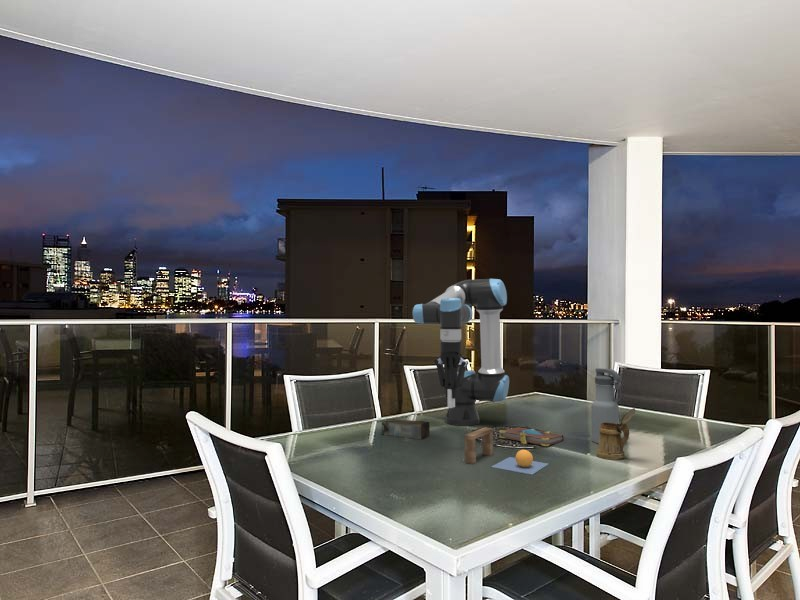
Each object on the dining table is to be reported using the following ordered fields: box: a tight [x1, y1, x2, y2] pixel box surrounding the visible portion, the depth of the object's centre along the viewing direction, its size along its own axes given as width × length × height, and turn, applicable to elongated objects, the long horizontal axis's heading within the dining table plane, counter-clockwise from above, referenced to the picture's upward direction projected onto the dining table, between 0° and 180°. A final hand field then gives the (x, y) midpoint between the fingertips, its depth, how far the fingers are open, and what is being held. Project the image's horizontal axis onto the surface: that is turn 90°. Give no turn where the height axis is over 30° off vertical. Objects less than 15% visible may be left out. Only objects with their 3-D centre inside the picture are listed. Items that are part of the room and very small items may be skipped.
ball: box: [515, 449, 534, 467], centre depth 174 cm, size 6×6×6 cm
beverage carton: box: [381, 418, 431, 440], centre depth 219 cm, size 8×19×6 cm, turn 62°
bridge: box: [464, 426, 494, 465], centre depth 184 cm, size 3×14×9 cm, turn 144°
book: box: [498, 427, 565, 447], centre depth 211 cm, size 16×25×5 cm, turn 46°
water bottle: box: [590, 367, 621, 444], centre depth 206 cm, size 10×10×28 cm
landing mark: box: [490, 456, 549, 476], centre depth 175 cm, size 14×14×1 cm
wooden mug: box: [596, 407, 636, 461], centre depth 184 cm, size 9×14×18 cm, turn 40°
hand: (451, 407), depth 191 cm, fingers closed
